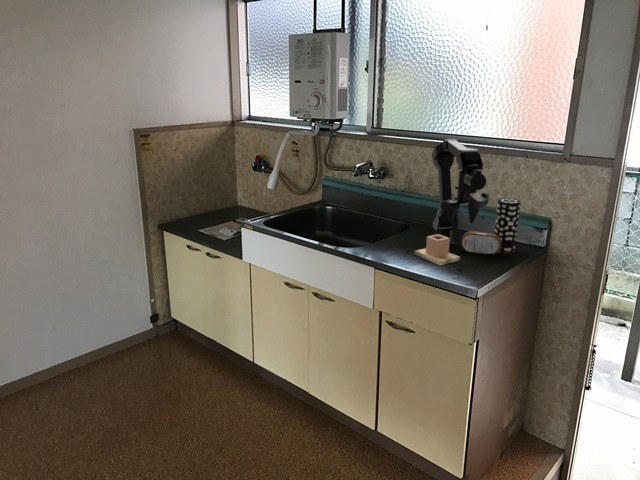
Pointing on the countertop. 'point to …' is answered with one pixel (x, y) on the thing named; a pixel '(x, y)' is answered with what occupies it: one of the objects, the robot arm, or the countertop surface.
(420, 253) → the post stand
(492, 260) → the countertop surface
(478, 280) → the countertop surface
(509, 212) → the spotted tube
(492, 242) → the tin
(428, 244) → the collar
